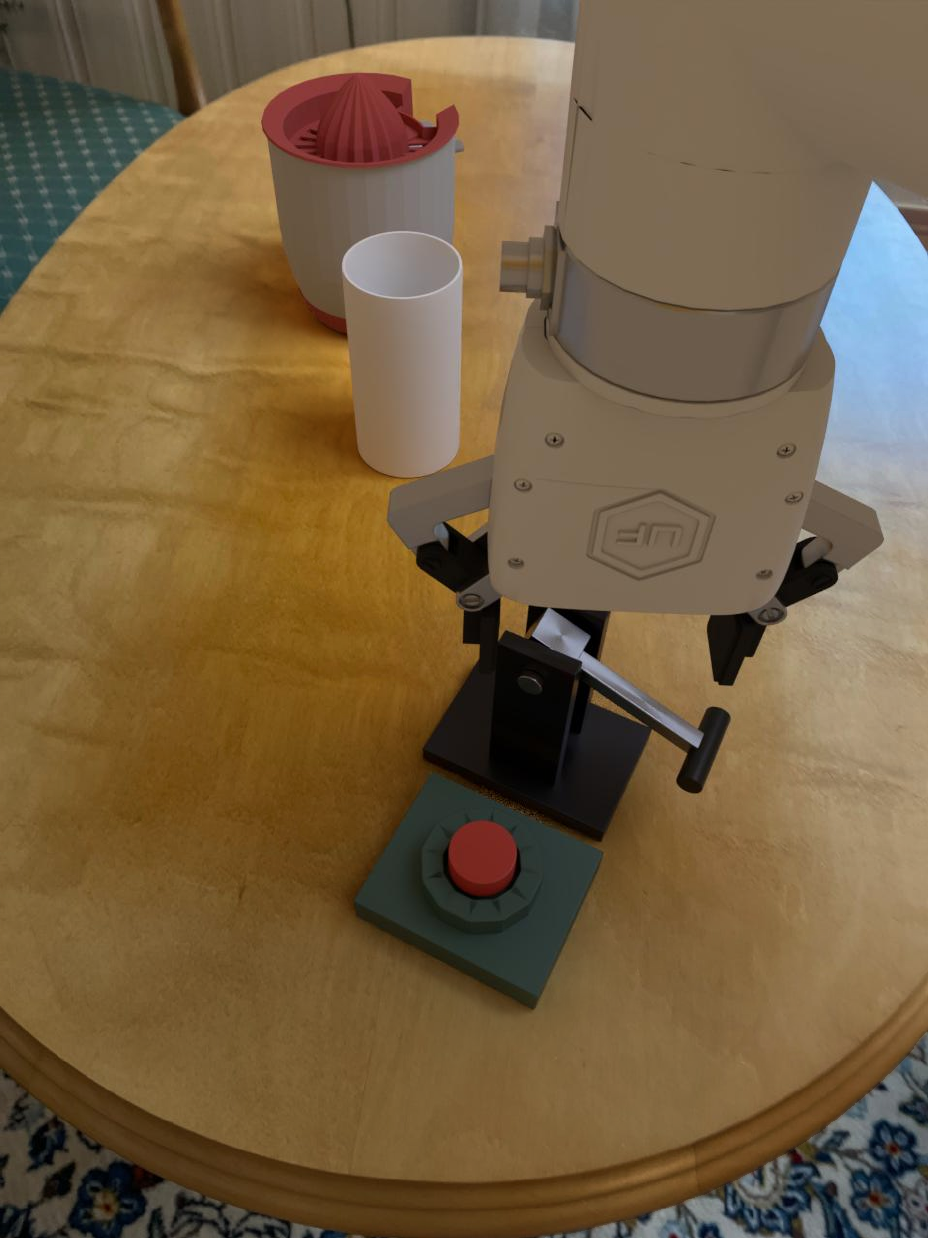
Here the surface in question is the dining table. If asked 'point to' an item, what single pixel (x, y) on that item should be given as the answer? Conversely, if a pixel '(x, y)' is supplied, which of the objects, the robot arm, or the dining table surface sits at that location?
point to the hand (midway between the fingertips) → (602, 651)
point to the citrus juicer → (355, 175)
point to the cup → (405, 350)
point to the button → (482, 858)
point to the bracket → (542, 731)
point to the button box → (473, 925)
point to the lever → (638, 701)
